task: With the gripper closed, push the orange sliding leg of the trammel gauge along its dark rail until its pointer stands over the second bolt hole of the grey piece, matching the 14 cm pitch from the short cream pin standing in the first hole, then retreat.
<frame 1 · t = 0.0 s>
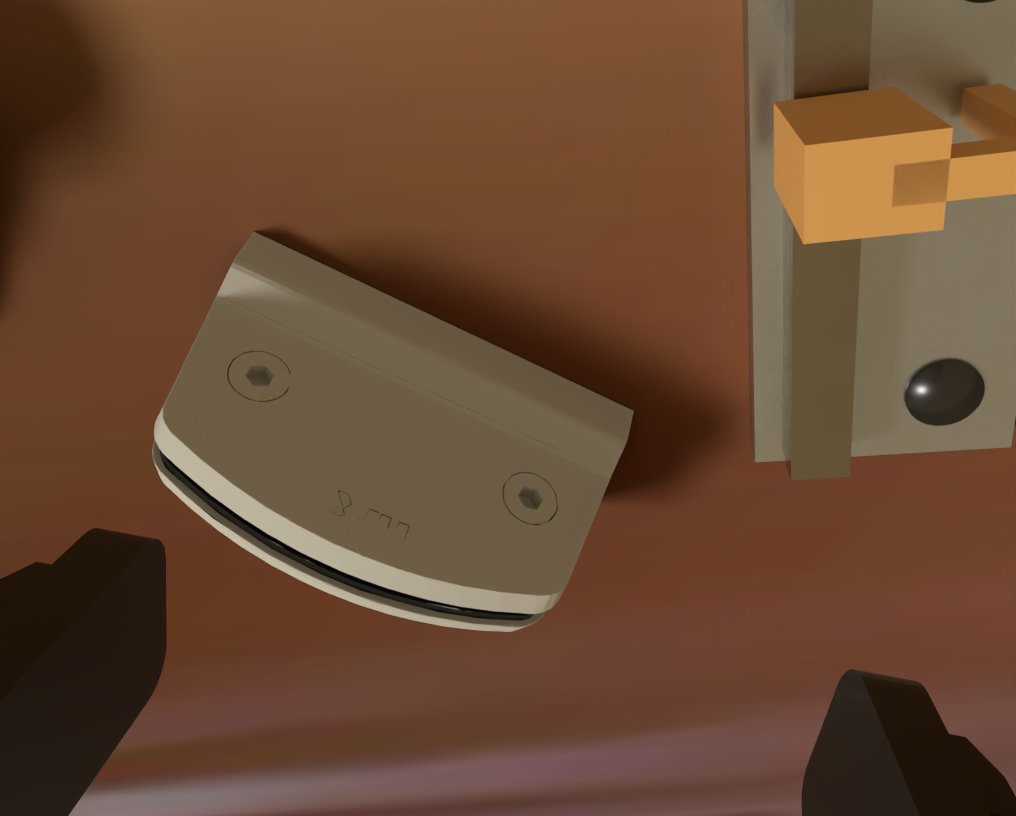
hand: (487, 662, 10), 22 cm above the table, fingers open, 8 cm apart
hinge: (414, 396, 35), on the table
sliding leg: (915, 143, 23), point 5 cm above the table, slide at -3.0 cm
grey piece: (887, 195, 29), on the table
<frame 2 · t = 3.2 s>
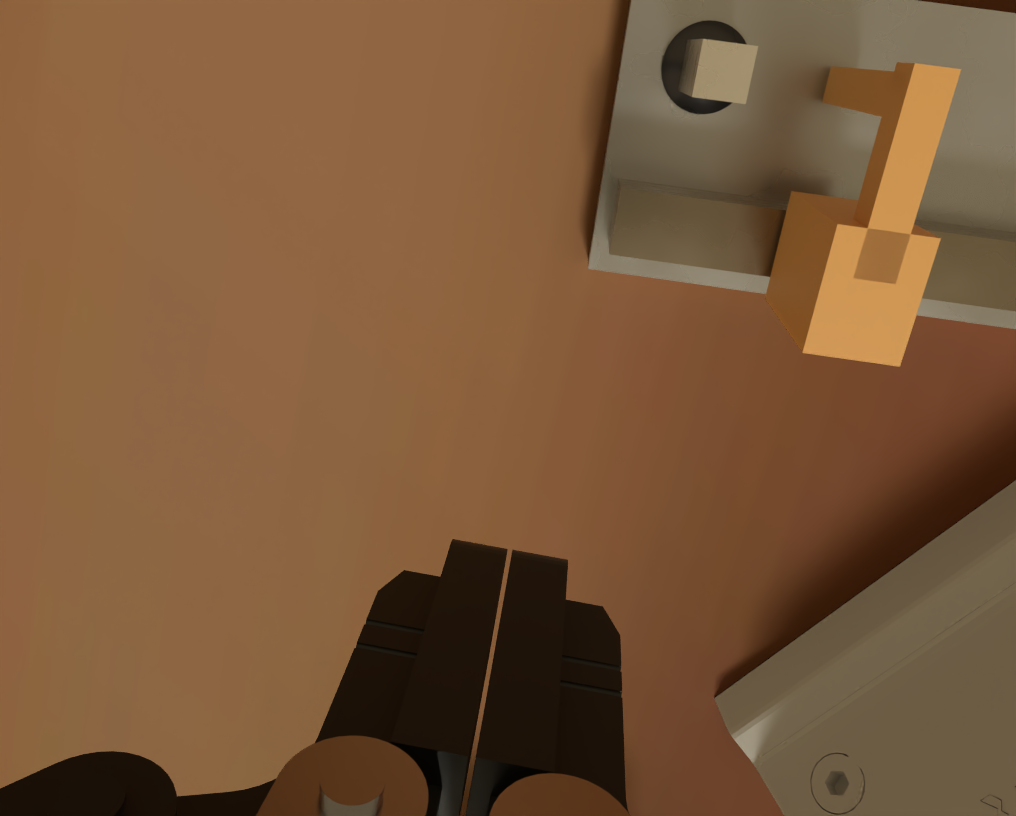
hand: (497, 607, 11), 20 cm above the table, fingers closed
hinge: (928, 639, 35), on the table
sliding leg: (850, 198, 23), point 5 cm above the table, slide at -3.0 cm
grey piece: (906, 163, 27), on the table
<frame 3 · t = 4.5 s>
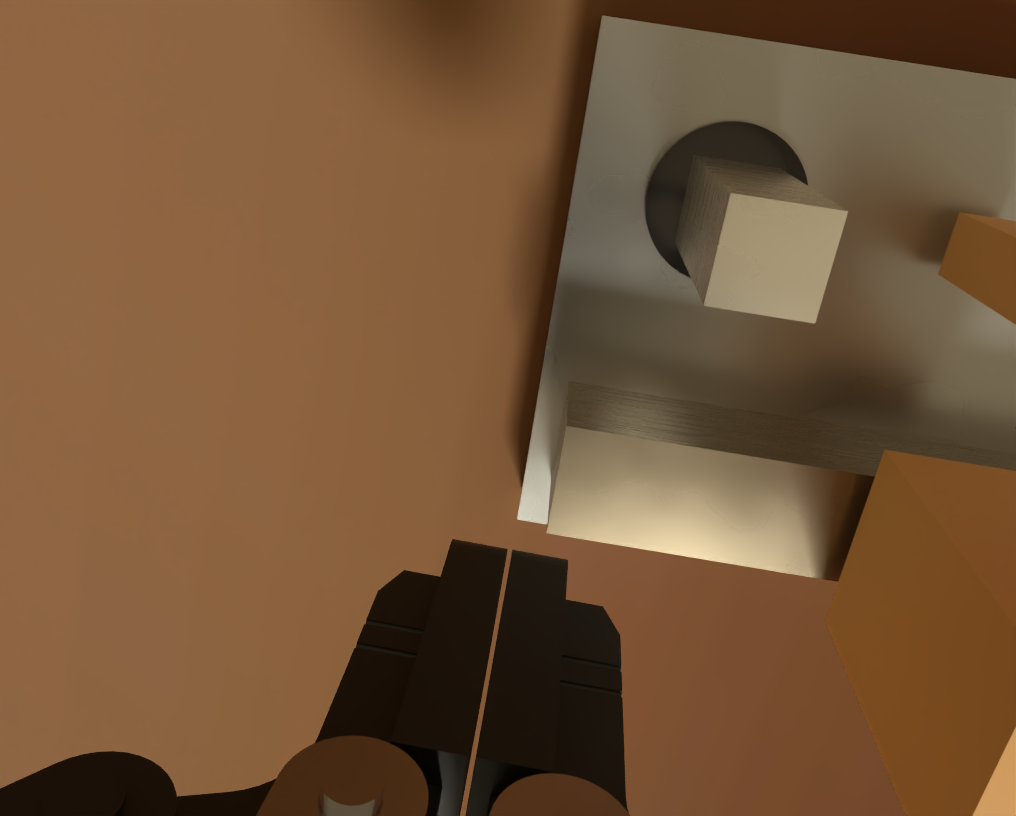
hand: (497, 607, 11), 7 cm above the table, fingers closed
sliding leg: (1015, 501, 12), point 5 cm above the table, slide at -3.0 cm
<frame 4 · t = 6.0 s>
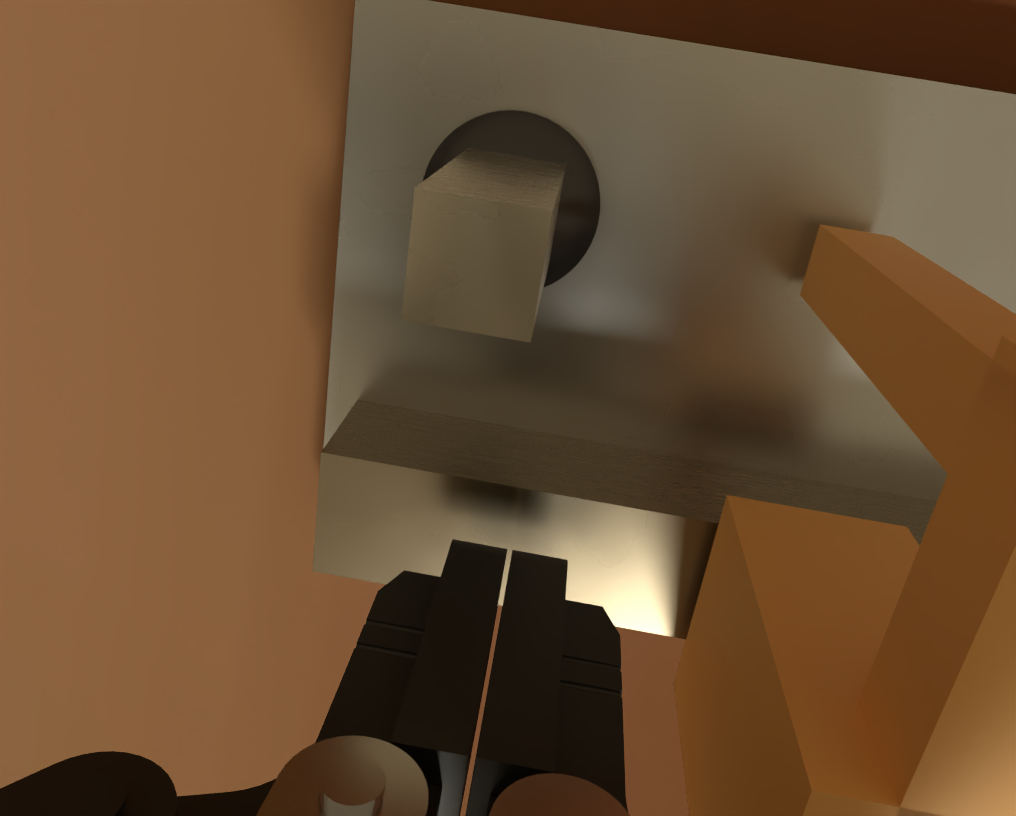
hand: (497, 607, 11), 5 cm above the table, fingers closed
sliding leg: (853, 562, 10), point 5 cm above the table, slide at -2.2 cm, touching gripper
grey piece: (917, 383, 14), on the table
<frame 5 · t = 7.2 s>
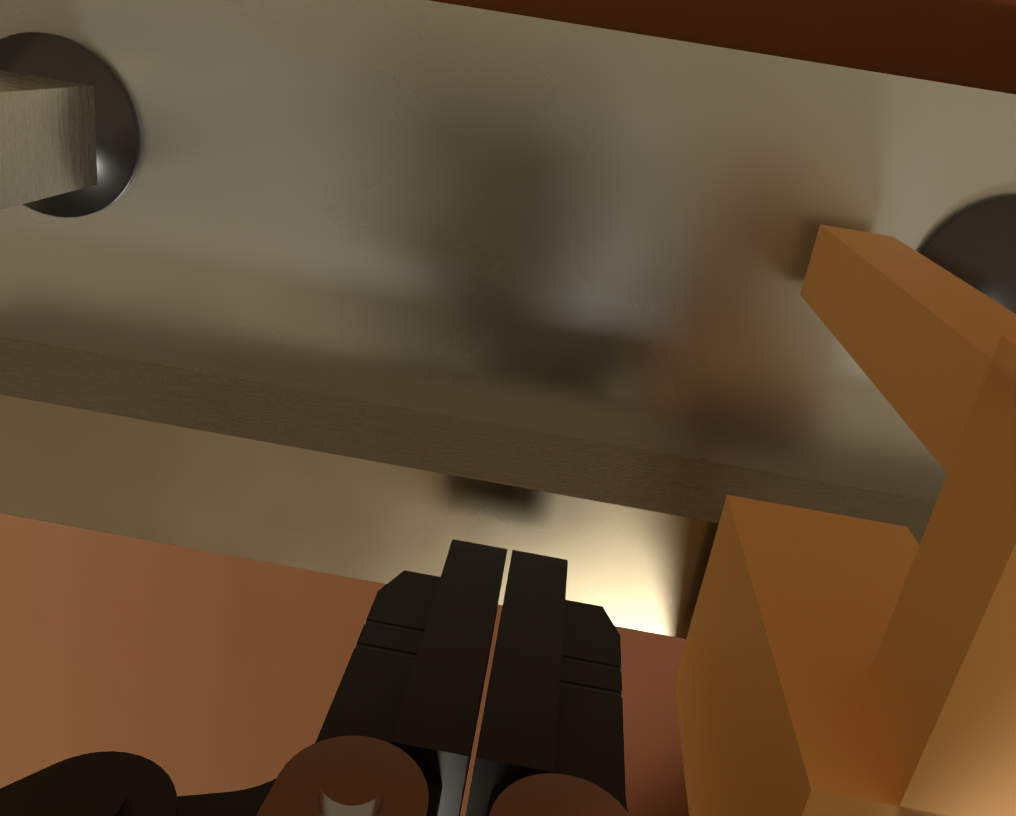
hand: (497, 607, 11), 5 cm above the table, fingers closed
sliding leg: (853, 562, 10), point 5 cm above the table, slide at 4.7 cm, touching gripper
grey piece: (507, 313, 14), on the table
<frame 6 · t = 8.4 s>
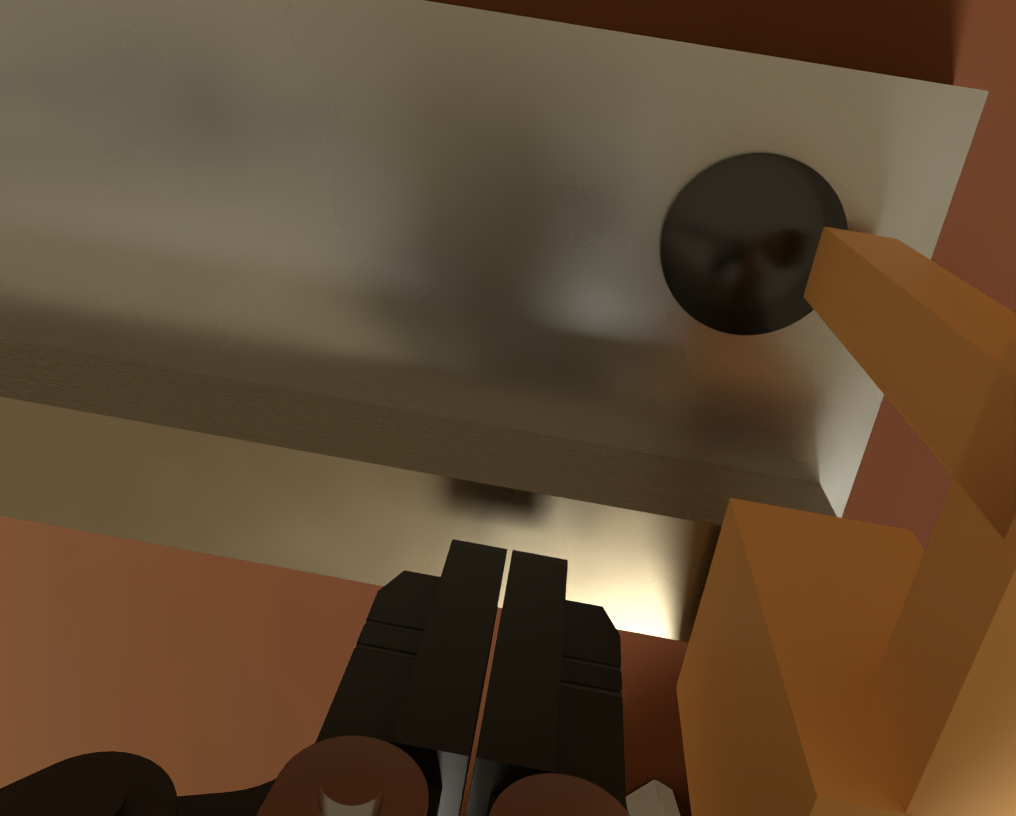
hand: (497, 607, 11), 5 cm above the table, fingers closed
sliding leg: (857, 566, 10), point 5 cm above the table, slide at 8.3 cm, touching gripper
grey piece: (296, 278, 15), on the table
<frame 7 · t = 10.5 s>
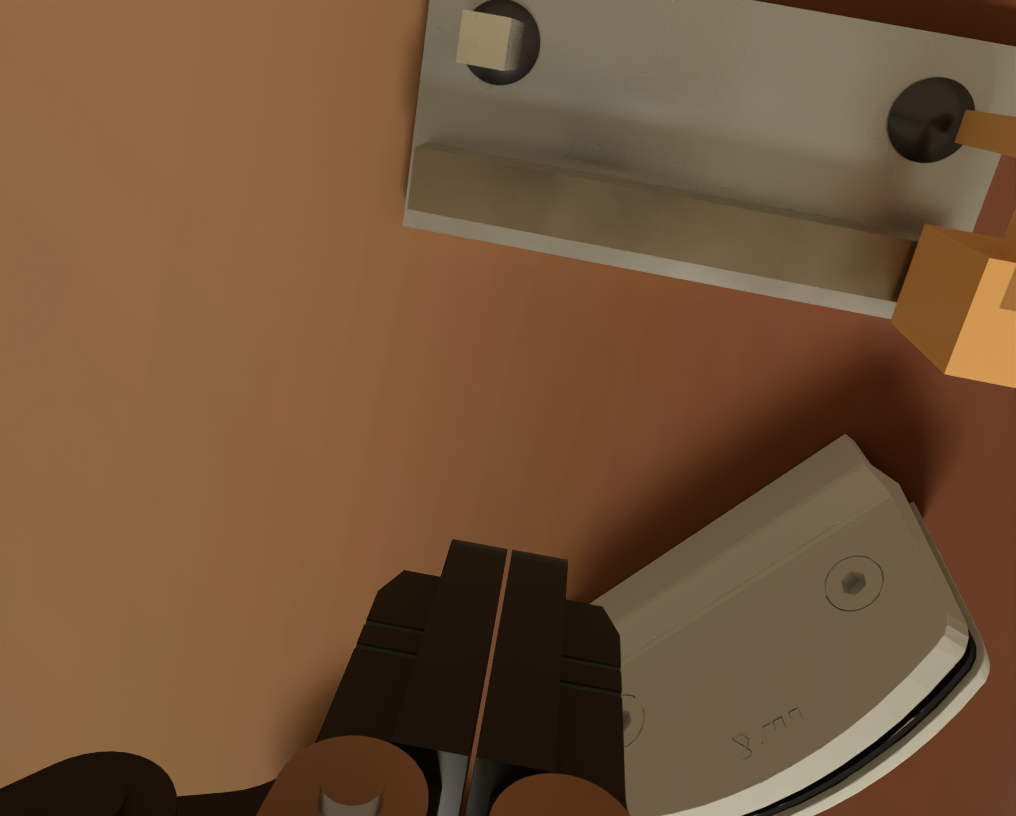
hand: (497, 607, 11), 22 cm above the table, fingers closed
hinge: (733, 602, 37), on the table
sliding leg: (986, 234, 25), point 5 cm above the table, slide at 8.3 cm
grey piece: (694, 141, 30), on the table
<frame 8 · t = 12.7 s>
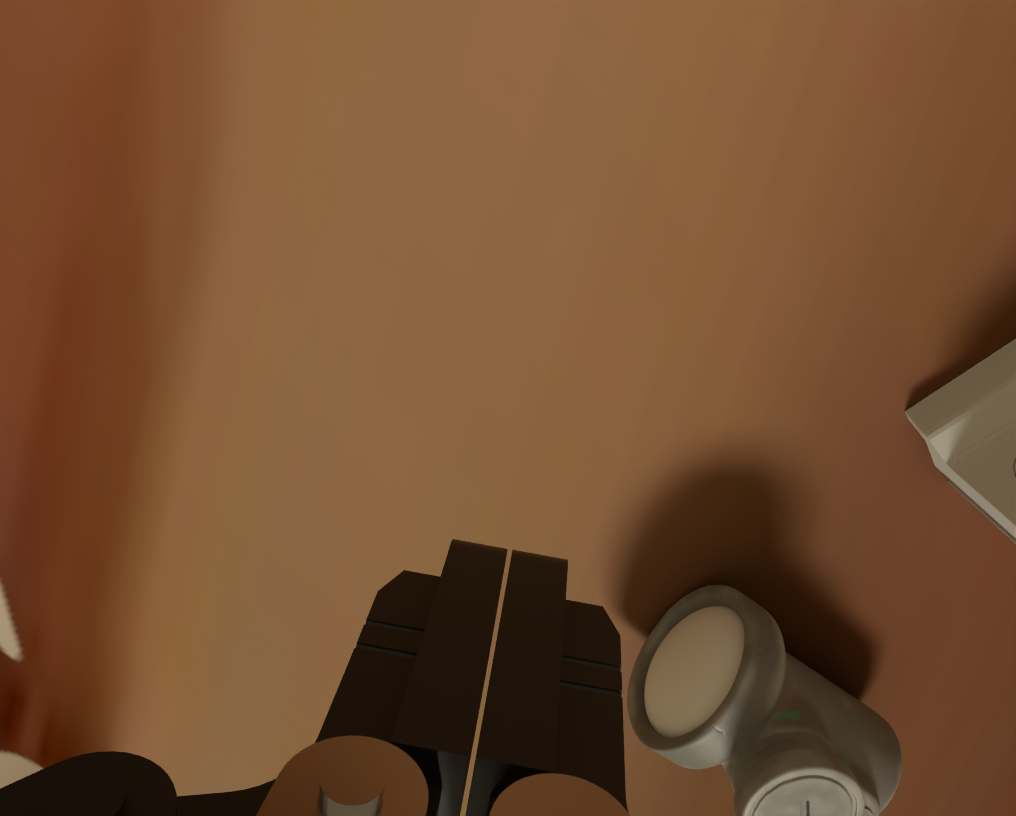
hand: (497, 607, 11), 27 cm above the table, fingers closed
pipe fitting: (759, 668, 44), on the table
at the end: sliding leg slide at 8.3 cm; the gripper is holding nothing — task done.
